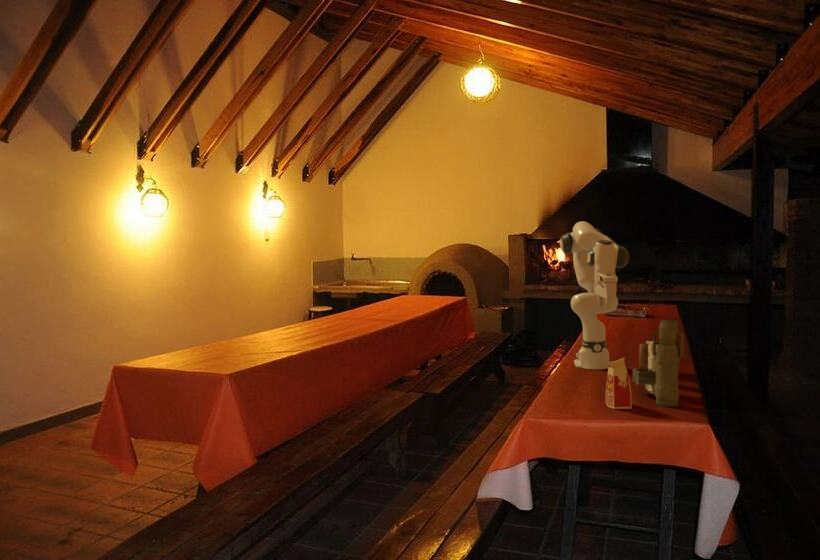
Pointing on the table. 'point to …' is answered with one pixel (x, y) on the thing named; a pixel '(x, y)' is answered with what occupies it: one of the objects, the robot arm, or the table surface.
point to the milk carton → (618, 386)
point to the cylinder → (643, 357)
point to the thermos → (668, 362)
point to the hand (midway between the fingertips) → (604, 307)
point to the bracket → (651, 375)
